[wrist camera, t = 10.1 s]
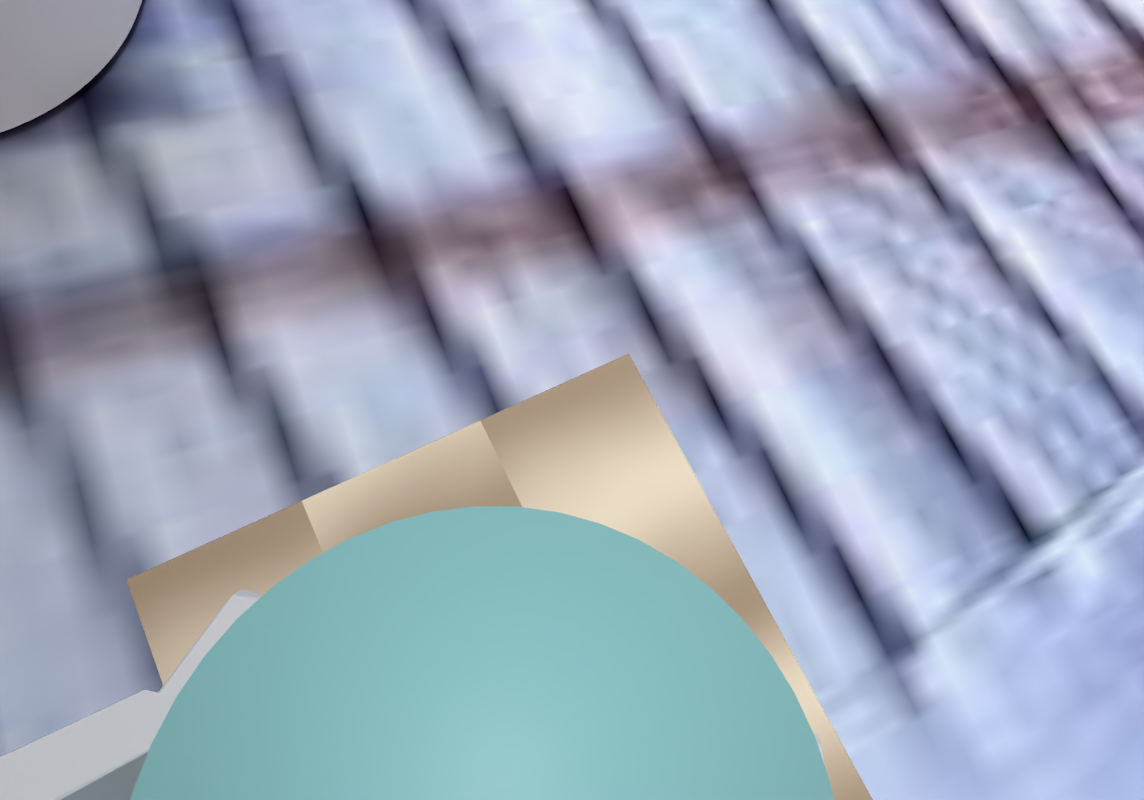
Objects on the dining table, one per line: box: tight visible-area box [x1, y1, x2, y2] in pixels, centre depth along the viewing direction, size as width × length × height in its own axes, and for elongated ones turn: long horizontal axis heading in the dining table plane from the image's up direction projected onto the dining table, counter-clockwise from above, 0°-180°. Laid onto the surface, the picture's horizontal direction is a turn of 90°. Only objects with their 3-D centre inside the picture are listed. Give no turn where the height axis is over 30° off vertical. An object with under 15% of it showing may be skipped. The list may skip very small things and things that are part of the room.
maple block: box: [127, 354, 872, 800], centre depth 24 cm, size 14×14×6 cm
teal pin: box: [130, 506, 834, 800], centre depth 10 cm, size 4×4×12 cm
